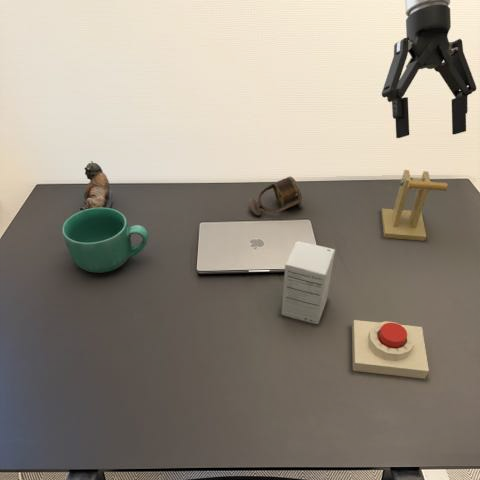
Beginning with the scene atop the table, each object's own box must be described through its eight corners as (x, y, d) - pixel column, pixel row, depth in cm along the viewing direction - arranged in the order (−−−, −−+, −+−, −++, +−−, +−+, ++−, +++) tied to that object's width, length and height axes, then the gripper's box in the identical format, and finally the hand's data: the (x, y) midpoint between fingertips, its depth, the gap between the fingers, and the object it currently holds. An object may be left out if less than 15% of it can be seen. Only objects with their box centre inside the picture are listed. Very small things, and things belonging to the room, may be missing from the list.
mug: (65, 278, 96) (51, 241, 89) (85, 241, 105) (74, 205, 98) (144, 284, 95) (136, 247, 88) (158, 246, 104) (152, 209, 97)
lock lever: (446, 193, 89) (448, 180, 89) (408, 190, 90) (410, 177, 89) (429, 190, 102) (431, 178, 101) (396, 187, 102) (398, 176, 102)
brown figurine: (110, 224, 109) (101, 186, 102) (79, 226, 109) (68, 187, 102) (115, 197, 118) (107, 159, 110) (87, 198, 117) (76, 160, 110)
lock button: (403, 330, 81) (406, 323, 80) (405, 350, 78) (408, 343, 77) (377, 328, 82) (379, 321, 80) (378, 347, 79) (381, 340, 77)
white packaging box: (291, 290, 93) (296, 239, 84) (327, 300, 92) (337, 248, 82) (279, 315, 89) (284, 264, 80) (317, 326, 87) (326, 274, 78)
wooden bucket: (307, 200, 106) (305, 169, 111) (251, 196, 105) (251, 165, 110) (301, 222, 112) (299, 192, 117) (248, 218, 111) (248, 188, 117)
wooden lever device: (425, 241, 104) (442, 189, 95) (383, 237, 105) (397, 186, 96) (419, 215, 111) (436, 165, 102) (381, 212, 112) (393, 162, 103)
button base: (418, 334, 85) (424, 319, 82) (425, 379, 78) (432, 364, 75) (351, 327, 86) (355, 312, 84) (352, 370, 80) (356, 355, 77)
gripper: (463, 22, 93) (466, 135, 97) (357, 19, 85) (365, 142, 89) (496, 4, 86) (497, 127, 90) (384, -1, 78) (390, 133, 82)
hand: (431, 135), depth 90 cm, fingers open, 13 cm apart
